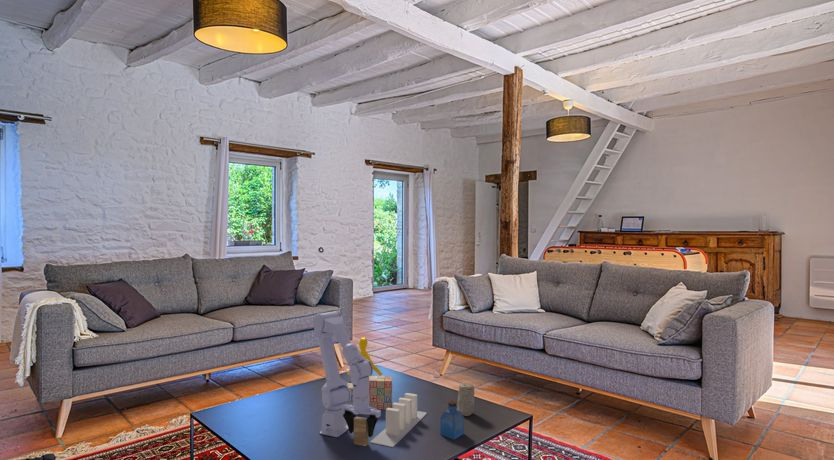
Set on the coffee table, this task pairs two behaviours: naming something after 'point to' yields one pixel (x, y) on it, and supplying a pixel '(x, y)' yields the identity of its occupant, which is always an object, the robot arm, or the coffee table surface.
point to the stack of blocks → (377, 392)
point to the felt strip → (393, 440)
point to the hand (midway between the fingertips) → (361, 434)
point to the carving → (466, 399)
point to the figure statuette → (366, 355)
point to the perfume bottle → (452, 422)
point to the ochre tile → (360, 431)
